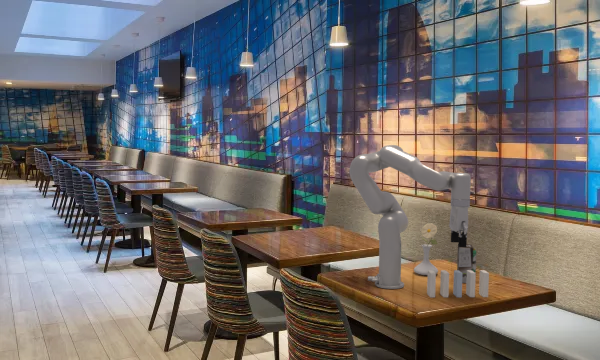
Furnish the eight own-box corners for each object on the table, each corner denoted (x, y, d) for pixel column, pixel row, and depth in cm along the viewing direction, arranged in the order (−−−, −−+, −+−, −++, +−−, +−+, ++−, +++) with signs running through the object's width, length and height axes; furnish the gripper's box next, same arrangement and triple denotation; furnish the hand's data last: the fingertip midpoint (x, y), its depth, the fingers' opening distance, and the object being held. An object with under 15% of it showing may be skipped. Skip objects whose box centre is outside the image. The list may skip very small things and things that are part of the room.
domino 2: (443, 297, 242) (444, 273, 241) (440, 293, 247) (440, 270, 246) (448, 297, 242) (449, 273, 241) (444, 293, 247) (445, 270, 246)
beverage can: (472, 276, 278) (472, 251, 277) (455, 273, 282) (456, 248, 281) (478, 273, 284) (479, 248, 283) (462, 270, 289) (462, 246, 288)
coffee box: (472, 283, 264) (473, 248, 262) (457, 282, 265) (458, 247, 264) (470, 278, 273) (472, 244, 271) (456, 277, 274) (457, 243, 273)
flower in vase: (408, 272, 284) (410, 220, 282) (428, 270, 288) (429, 219, 286) (425, 278, 272) (427, 224, 270) (445, 276, 277) (447, 223, 275)
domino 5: (483, 297, 242) (484, 273, 242) (478, 293, 247) (479, 270, 247) (488, 297, 243) (488, 273, 242) (483, 293, 248) (484, 270, 247)
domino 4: (470, 297, 242) (470, 273, 241) (466, 293, 247) (466, 270, 246) (474, 297, 242) (475, 273, 241) (470, 293, 247) (471, 270, 246)
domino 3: (456, 297, 242) (457, 273, 241) (453, 293, 247) (453, 270, 246) (461, 297, 242) (462, 273, 241) (457, 293, 247) (458, 270, 246)
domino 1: (430, 297, 241) (431, 273, 240) (427, 294, 246) (427, 270, 245) (435, 297, 241) (435, 273, 241) (431, 294, 246) (432, 270, 246)
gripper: (444, 200, 250) (443, 240, 251) (457, 205, 233) (456, 248, 234) (462, 200, 250) (460, 240, 252) (476, 206, 233) (474, 249, 234)
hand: (458, 244), depth 243 cm, fingers open, 9 cm apart
